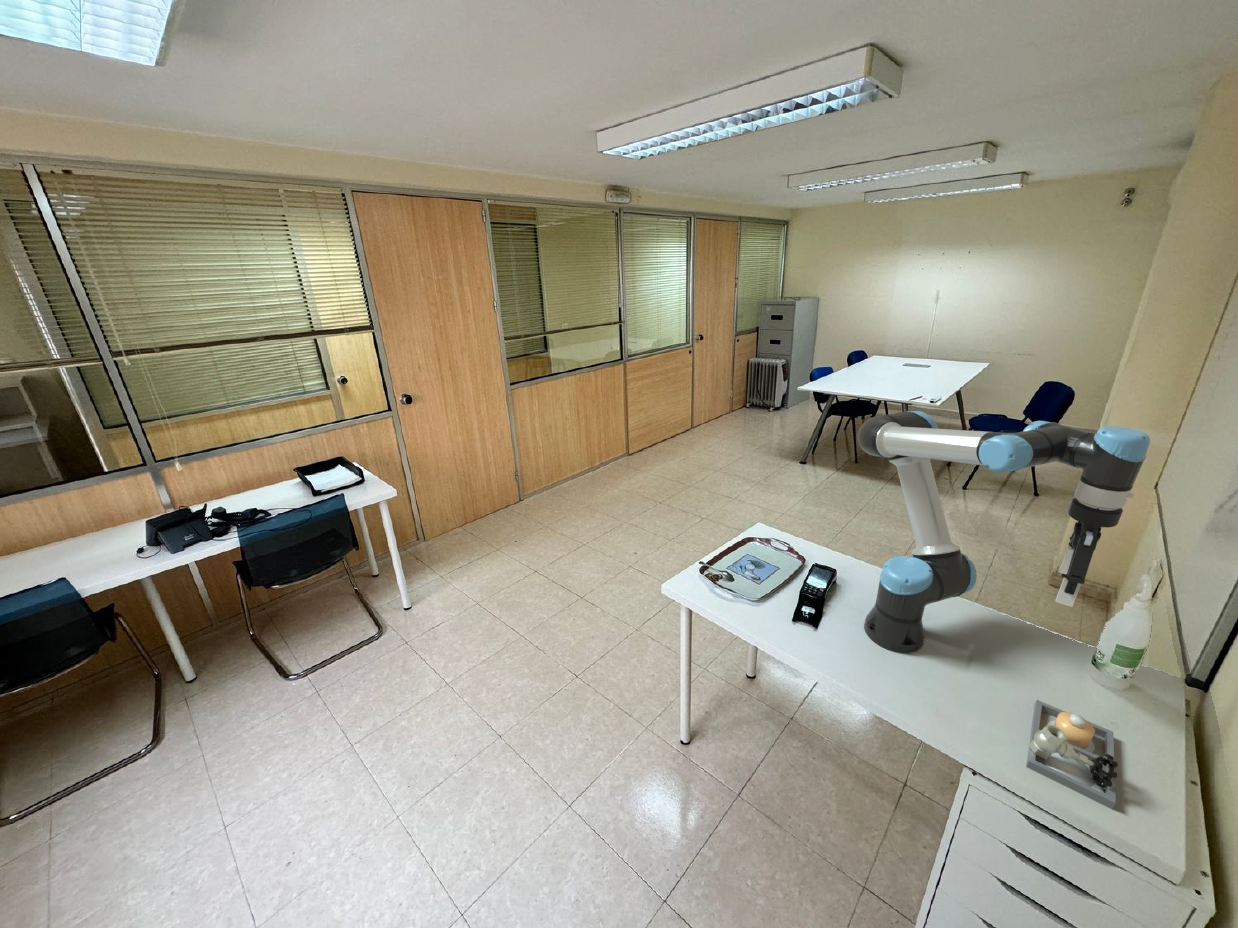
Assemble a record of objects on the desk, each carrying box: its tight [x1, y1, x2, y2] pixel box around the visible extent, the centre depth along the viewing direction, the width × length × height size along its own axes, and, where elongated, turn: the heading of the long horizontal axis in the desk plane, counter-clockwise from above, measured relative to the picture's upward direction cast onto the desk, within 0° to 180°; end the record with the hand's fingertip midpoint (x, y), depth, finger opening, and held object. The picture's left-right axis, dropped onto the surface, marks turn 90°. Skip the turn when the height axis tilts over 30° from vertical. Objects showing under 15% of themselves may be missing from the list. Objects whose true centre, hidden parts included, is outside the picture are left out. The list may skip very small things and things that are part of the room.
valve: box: [1028, 723, 1119, 789], centre depth 98 cm, size 7×7×12 cm
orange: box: [1054, 711, 1095, 749], centre depth 105 cm, size 6×6×6 cm
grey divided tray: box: [1025, 699, 1117, 810], centre depth 103 cm, size 13×20×3 cm, turn 137°
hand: (1065, 588), depth 105 cm, fingers open, 13 cm apart
